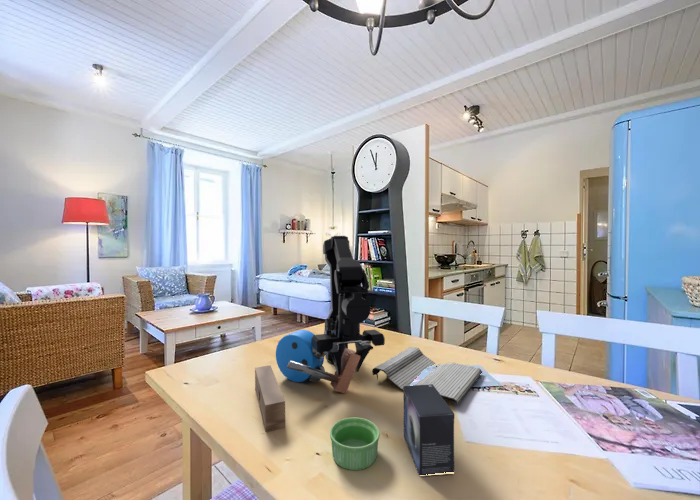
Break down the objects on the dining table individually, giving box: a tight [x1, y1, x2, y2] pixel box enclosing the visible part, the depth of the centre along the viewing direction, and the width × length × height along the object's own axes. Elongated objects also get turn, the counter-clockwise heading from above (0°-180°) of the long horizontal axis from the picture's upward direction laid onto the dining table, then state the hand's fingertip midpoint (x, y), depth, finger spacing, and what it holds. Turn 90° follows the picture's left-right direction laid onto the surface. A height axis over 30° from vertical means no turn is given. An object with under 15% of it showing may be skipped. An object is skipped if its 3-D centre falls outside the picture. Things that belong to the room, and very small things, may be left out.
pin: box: [287, 348, 361, 395], centre depth 77 cm, size 16×4×10 cm, turn 113°
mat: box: [371, 346, 483, 405], centre depth 86 cm, size 23×24×5 cm
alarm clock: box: [275, 329, 326, 383], centre depth 85 cm, size 13×6×15 cm
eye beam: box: [254, 365, 286, 433], centre depth 71 cm, size 4×20×6 cm, turn 23°
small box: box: [402, 384, 456, 476], centre depth 55 cm, size 11×6×10 cm, turn 5°
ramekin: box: [329, 416, 380, 471], centre depth 55 cm, size 9×9×4 cm
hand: (347, 372), depth 79 cm, fingers closed on pin, 5 cm apart
